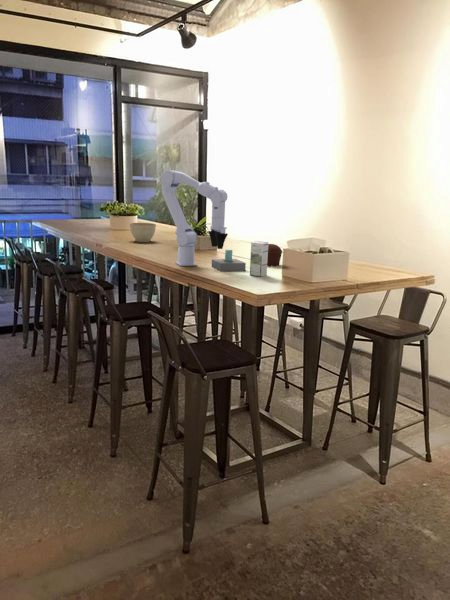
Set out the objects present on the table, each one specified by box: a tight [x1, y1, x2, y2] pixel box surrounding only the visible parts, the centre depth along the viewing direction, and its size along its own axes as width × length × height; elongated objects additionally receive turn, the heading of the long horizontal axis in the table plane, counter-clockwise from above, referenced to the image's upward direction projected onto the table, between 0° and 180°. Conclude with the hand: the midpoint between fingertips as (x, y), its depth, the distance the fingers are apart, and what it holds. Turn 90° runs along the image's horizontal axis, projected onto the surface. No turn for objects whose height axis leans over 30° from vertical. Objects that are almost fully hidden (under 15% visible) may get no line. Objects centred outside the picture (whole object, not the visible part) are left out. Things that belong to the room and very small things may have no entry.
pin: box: [224, 249, 233, 262], centre depth 237 cm, size 3×3×8 cm
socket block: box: [210, 258, 246, 272], centre depth 238 cm, size 12×12×4 cm
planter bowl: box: [129, 222, 157, 243], centre depth 324 cm, size 16×16×11 cm
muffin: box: [267, 243, 283, 267], centre depth 253 cm, size 12×11×10 cm
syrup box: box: [249, 240, 269, 278], centre depth 223 cm, size 6×6×14 cm
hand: (217, 247), depth 236 cm, fingers open, 7 cm apart
